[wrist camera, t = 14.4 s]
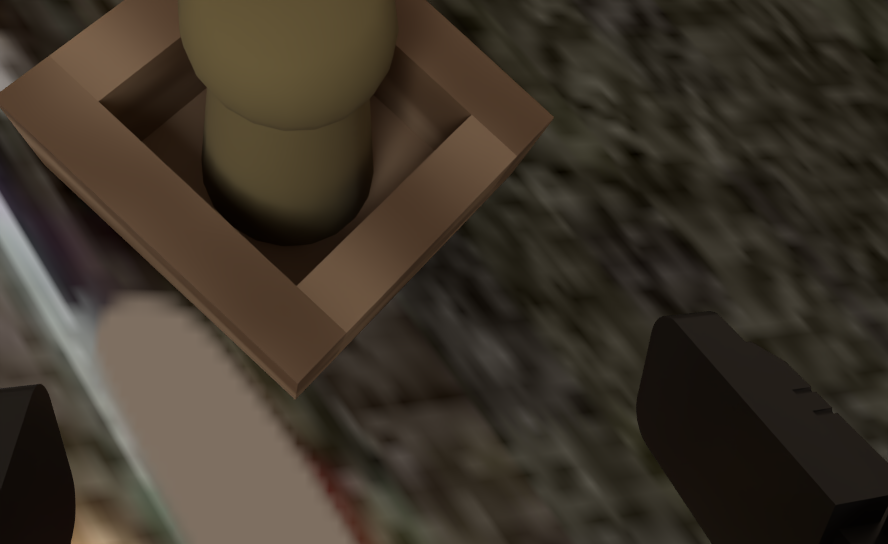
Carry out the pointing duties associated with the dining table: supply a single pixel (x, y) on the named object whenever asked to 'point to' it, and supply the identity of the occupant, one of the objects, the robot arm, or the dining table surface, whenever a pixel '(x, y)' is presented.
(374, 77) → the cork
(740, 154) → the dining table surface
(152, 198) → the wooden box
